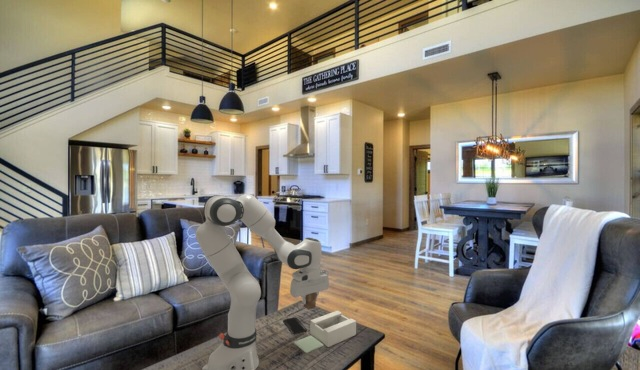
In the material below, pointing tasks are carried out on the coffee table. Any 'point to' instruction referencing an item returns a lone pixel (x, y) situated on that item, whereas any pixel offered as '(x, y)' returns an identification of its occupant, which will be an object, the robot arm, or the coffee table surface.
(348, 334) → the slotted box
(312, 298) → the walnut block
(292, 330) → the phone
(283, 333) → the coffee table surface
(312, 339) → the sage mat
